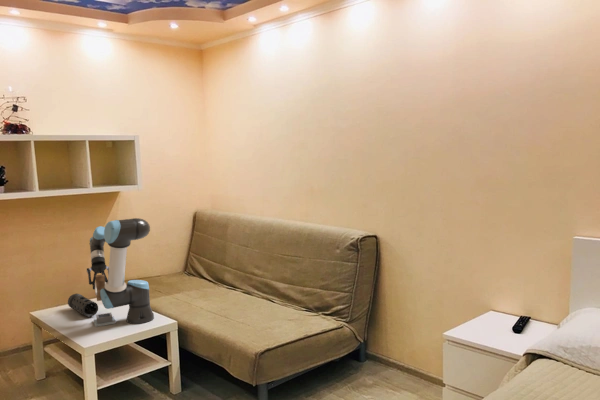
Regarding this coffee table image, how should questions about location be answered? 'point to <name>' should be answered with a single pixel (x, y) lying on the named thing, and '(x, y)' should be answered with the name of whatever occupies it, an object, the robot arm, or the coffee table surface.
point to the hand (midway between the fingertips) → (101, 293)
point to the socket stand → (104, 319)
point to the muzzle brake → (83, 305)
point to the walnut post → (100, 285)
